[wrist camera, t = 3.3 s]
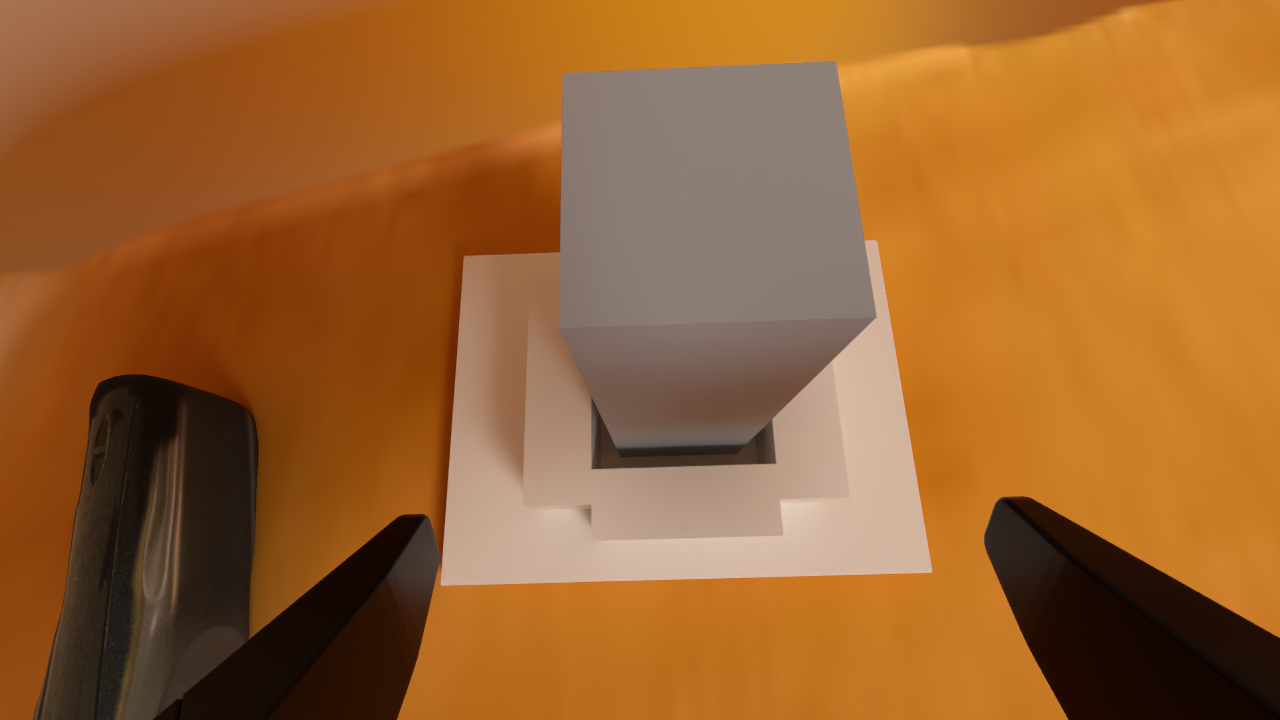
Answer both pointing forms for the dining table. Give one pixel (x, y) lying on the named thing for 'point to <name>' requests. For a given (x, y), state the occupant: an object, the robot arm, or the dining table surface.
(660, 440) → the plug
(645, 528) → the white flat stepped block
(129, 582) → the mobile phone
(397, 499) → the dining table surface
